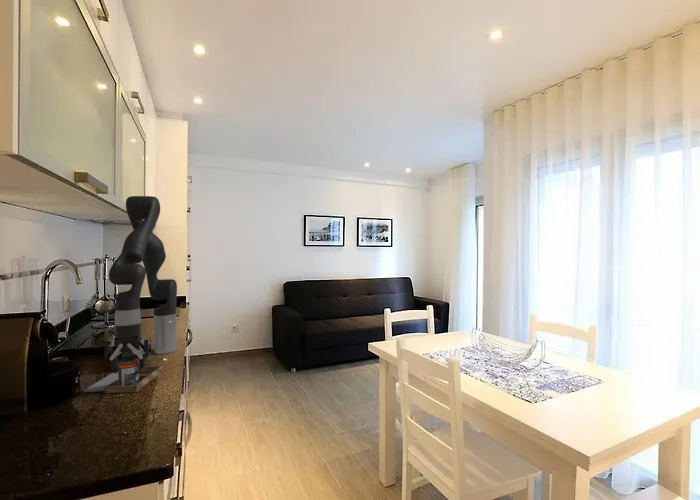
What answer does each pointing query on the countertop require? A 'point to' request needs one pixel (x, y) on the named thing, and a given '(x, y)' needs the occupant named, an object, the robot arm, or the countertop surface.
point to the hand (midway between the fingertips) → (128, 370)
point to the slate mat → (102, 383)
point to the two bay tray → (143, 380)
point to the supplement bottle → (128, 370)
